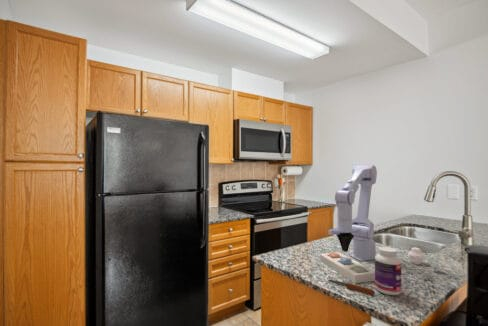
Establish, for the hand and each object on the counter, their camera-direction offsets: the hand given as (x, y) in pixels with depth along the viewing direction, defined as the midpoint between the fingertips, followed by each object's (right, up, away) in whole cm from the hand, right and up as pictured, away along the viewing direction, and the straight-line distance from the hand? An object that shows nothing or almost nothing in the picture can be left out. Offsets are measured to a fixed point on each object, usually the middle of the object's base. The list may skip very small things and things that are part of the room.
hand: (344, 250), depth 108 cm
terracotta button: (-2, -7, +7) cm, 10 cm away
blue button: (0, -6, -1) cm, 6 cm away
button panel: (0, -8, -1) cm, 8 cm away
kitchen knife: (-5, -8, -18) cm, 20 cm away
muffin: (+35, -8, +7) cm, 36 cm away
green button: (+2, -6, -8) cm, 11 cm away
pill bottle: (+7, -7, -19) cm, 22 cm away
